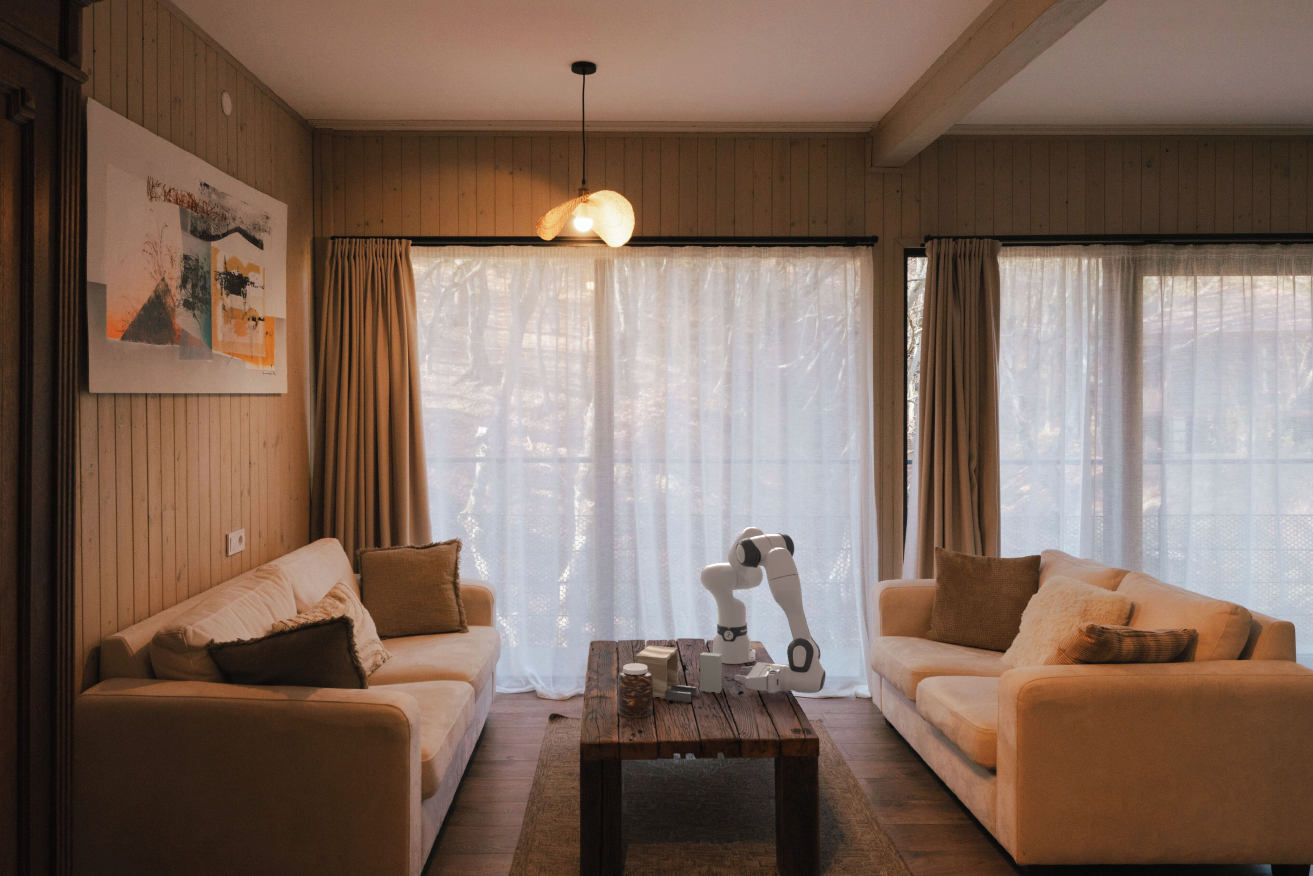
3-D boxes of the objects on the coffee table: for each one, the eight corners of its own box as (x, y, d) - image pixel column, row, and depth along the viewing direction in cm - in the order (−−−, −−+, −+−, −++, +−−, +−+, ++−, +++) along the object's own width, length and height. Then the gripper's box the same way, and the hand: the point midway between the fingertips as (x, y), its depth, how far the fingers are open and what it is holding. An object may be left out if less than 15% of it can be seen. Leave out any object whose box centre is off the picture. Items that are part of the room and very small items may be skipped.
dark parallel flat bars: (671, 693, 295) (671, 684, 295) (696, 695, 292) (696, 687, 292) (665, 699, 288) (665, 691, 287) (690, 702, 285) (690, 693, 285)
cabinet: (649, 683, 306) (648, 645, 305) (678, 686, 302) (677, 647, 302) (636, 695, 292) (635, 655, 292) (666, 698, 289) (666, 658, 289)
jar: (660, 710, 277) (660, 665, 277) (639, 721, 267) (639, 674, 267) (631, 704, 283) (631, 659, 283) (610, 713, 274) (610, 668, 274)
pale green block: (702, 688, 300) (702, 652, 300) (721, 690, 298) (721, 653, 298) (700, 691, 297) (700, 654, 296) (719, 693, 294) (719, 656, 294)
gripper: (782, 659, 300) (744, 656, 304) (771, 676, 280) (731, 672, 285) (782, 677, 300) (744, 673, 304) (771, 695, 280) (731, 690, 285)
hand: (737, 673), depth 294 cm, fingers open, 8 cm apart
